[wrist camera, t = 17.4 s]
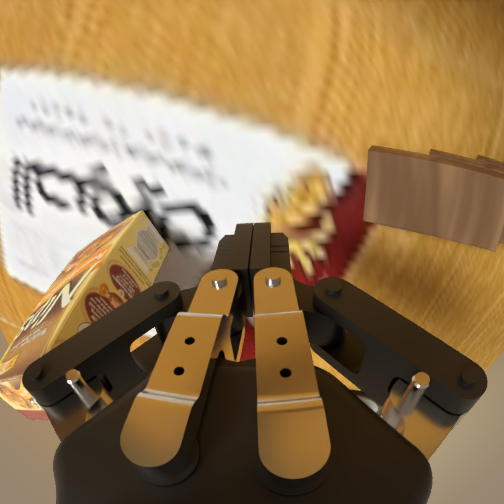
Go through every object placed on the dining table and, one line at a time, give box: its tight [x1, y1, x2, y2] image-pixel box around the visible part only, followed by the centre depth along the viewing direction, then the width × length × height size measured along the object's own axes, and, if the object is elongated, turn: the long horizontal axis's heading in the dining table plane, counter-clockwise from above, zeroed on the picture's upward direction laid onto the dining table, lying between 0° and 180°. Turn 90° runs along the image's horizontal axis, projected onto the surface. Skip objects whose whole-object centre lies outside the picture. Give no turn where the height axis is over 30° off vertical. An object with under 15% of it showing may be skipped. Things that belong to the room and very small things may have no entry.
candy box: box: [0, 211, 170, 420], centre depth 18 cm, size 9×4×15 cm, turn 119°
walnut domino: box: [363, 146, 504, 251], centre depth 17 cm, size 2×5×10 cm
